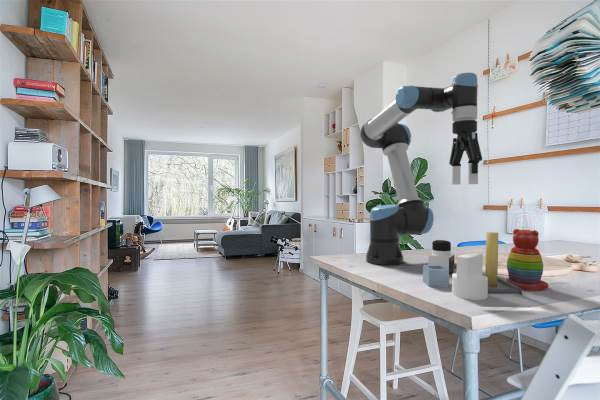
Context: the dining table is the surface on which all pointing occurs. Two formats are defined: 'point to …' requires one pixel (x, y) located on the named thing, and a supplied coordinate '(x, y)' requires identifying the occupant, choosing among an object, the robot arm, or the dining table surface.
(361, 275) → the dining table surface
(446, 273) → the pen cup
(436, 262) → the medicine bottle
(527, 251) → the stacking bear
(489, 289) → the tray
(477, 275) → the base with upright slab
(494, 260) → the dowel
